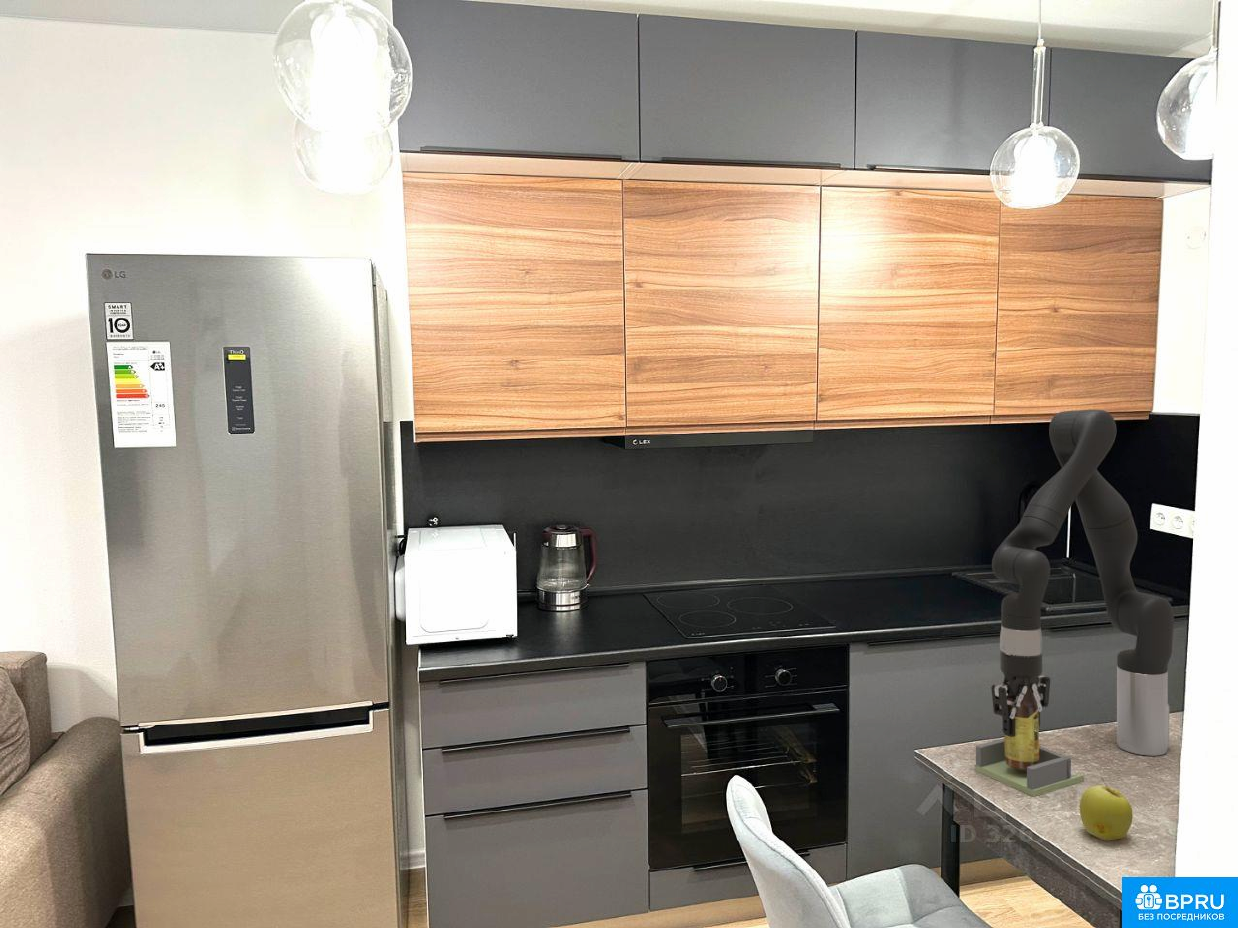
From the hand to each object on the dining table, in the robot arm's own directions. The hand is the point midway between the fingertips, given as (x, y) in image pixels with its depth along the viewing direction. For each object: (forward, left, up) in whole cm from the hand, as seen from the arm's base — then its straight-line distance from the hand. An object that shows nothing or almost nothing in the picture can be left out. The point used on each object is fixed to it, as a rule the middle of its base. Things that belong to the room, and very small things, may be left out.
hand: (1021, 731), depth 174 cm
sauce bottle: (0, 0, -7) cm, 7 cm away
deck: (-2, 0, -9) cm, 9 cm away
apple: (+7, +23, -10) cm, 26 cm away
